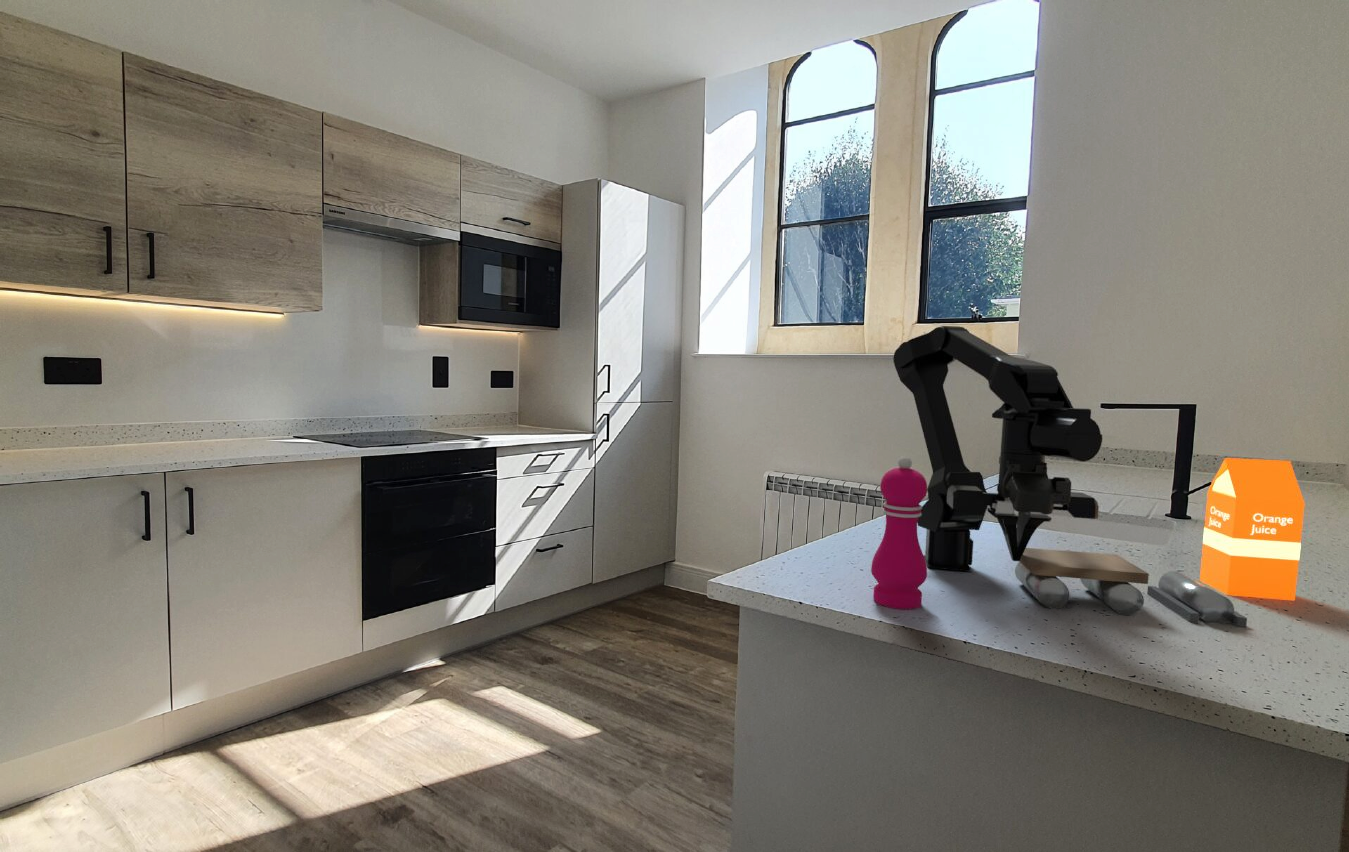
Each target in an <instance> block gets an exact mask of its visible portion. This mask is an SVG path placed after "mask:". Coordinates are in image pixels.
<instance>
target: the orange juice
mask: <svg viewBox="0 0 1349 852" xmlns="http://www.w3.org/2000/svg"><path fill="white" fill-rule="evenodd" d="M1206 498H1207V499H1206V505H1205V506H1206V508H1205V518H1204V519H1205V520H1204V526H1203V536H1202V537H1203V538H1202V550H1201V552H1202V553H1201V560H1200V561H1201V562H1200V563H1201V564H1200V574H1199V581H1200V582H1201V583H1203V584H1206V586H1207V585H1208V586H1210V587H1211V588H1213V589H1214V590H1217V591H1218V592H1220V593H1223V594H1224V595H1226V596H1232V597H1233V596H1234V597H1235V596H1236V597H1244V598H1245V597H1246V598H1259V599H1269V600H1284V601H1295V600H1296V593H1297V592H1296V591H1297V583H1298V582H1297V581H1298V573H1299V572H1298V571H1299V562H1300V560H1301V559H1300V558H1301V557H1300V556H1301V547H1302V543H1301V542H1302V533H1303V532H1302V531H1303V523H1304V514H1305V503H1306V501H1304V498H1303V495H1302V493H1301V489H1300V486H1299V484H1298V480H1297V477H1296V475H1295V472H1294V469H1293V465H1292V463H1291V460H1279V459H1278V460H1277V459H1276V460H1275V459H1273V460H1272V459H1255V458H1254V459H1253V458H1231V457H1227V458H1226V457H1225V458H1224V460H1223V462H1222V463H1221V465H1220V468H1219V469H1218V471H1217V473H1216V475H1215V477H1214V478H1213V480H1212V482H1211V484H1210V486H1209V488H1208V489H1207V495H1206Z"/></svg>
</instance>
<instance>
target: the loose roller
mask: <svg viewBox="0 0 1349 852" xmlns="http://www.w3.org/2000/svg"><path fill="white" fill-rule="evenodd" d="M1158 588H1159V589H1161V590H1162V591H1164V592H1165V593H1167V594H1169V595H1170V596H1172V597H1173V598H1175V599H1177V600H1178V601H1180V602H1181V603H1183V604H1185V605H1186V606H1188V607H1189V608H1191V609H1192V610H1194V611H1196V612H1197V613H1199V619H1201V620H1202V621H1204V622H1205V623H1207V624H1216V625H1225V624H1226V623H1228V622H1229V620H1230V619H1231V618H1232V617H1233V614H1234V611H1235V607H1234V604H1233V602H1232V601H1231V600H1230V598H1228V597H1226V596H1224V595H1223V594H1221V593H1219V592H1217V591H1215V589H1214V590H1213V589H1212V588H1210V587H1208V586H1207V585H1204V584H1202V582H1201V583H1200V582H1199V581H1196V580H1195V579H1194V578H1191V577H1189V576H1188V575H1186V574H1184V573H1182V572H1179V571H1174V570H1172V571H1167V572H1166V573H1163V575H1162V576H1161V577H1160V578H1159V580H1158Z"/></svg>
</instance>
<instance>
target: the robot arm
mask: <svg viewBox="0 0 1349 852" xmlns="http://www.w3.org/2000/svg"><path fill="white" fill-rule="evenodd" d="M892 358H893V364H894V368H895V371H896V373H897V376H898V378H899V381H900V382H901V383H902V384H903V385H904V386H905V387H906V388H907V389H908V390H909V391H910V393H912V395H913V398H914V402H915V406H916V407H915V408H916V410H917V414H918V418H919V421H920V425H921V429H922V435H923V437H924V438H923V439H924V442H925V444H926V445H925V447H926V450H927V453H928V458H929V461H930V464H931V469H932V474H931V477H930V480H929V484H927V497H928V499H927V501H926V502H925V503H924V504H923V505H921V506H922V509H921V513H922V515H921V516H920V517H918V522H917V527H921V528H923V529H925V530H926V536H925V550H924V551H925V552H924V553H925V554H923V556H924V558H925V562H926V566H927V568H930V569H938V570H939V569H940V570H950V571H951V570H952V571H965V572H971V570H972V568H971V566H972V565H973V556H974V555H973V553H974V540H973V539H972V538H971V531H973V530H975V531H980V530H981V526H982V523H983V521H984V518H985V514H986V512H988V513H989V514H990V515H991V516H992V517H994V518H996V519H997V521H998V523H999V526H1000V528H1001V531H1002V533H1003V535H1004V536H1003V537H1004V540H1005V543H1006V546H1007V549H1008V552H1009V555H1010V558H1011V559H1010V560H1012V561H1013V562H1019V561H1020V559H1021V557H1022V555H1023V553H1024V551H1025V548H1027V547H1028V544H1029V542H1030V540H1031V538H1032V536H1033V535H1034V533H1035V532H1036V530H1037V529H1038V528H1039V527H1040V526H1041V525H1042V524H1044V522H1047V523H1048V522H1049V523H1050V522H1051V521H1052V517H1051V516H1049V515H1051V514H1052V513H1053V511H1064V512H1065V511H1066V512H1067V513H1069V514H1070V515H1071V516H1072V517H1073V518H1075V519H1077V518H1078V519H1079V518H1080V519H1091V520H1092V519H1093V520H1097V519H1098V518H1099V509H1100V508H1099V507H1100V506H1099V503H1098V501H1097V500H1096V498H1095V497H1093V496H1092V495H1091V496H1090V495H1089V494H1087V493H1084V492H1075V491H1072V481H1071V479H1070V478H1069V477H1062V476H1054V477H1052V478H1049V475H1048V466H1047V465H1048V463H1047V462H1046V457H1050V458H1055V459H1061V460H1069V461H1074V462H1075V461H1076V462H1081V463H1082V462H1083V463H1084V462H1088V461H1091V460H1092V459H1094V458H1095V457H1096V456H1097V454H1098V453H1099V451H1100V449H1101V448H1102V443H1103V434H1102V433H1101V429H1100V426H1099V425H1098V423H1097V422H1096V421H1095V420H1094V419H1092V418H1091V417H1092V410H1091V408H1080V407H1079V408H1075V407H1074V406H1073V404H1072V402H1071V401H1070V398H1069V397H1068V395H1067V393H1066V391H1065V389H1064V388H1063V385H1062V384H1061V382H1060V380H1059V378H1058V376H1059V373H1058V371H1057V369H1055V368H1054V367H1053V366H1051V365H1048V364H1045V363H1042V362H1039V361H1035V360H1030V359H1025V358H1020V357H1016V356H1012V355H1011V354H1008V353H1007V352H1005V351H1003V350H1001V349H999V348H998V347H996V346H994V345H992V344H990V342H987V341H985V340H983V339H982V338H981V337H978V336H977V335H974V334H973V333H971V332H970V331H969V330H968V329H967V328H965V327H964V326H960V325H959V326H957V325H940V326H937V327H935V328H934V329H932V330H931V331H929V332H927V333H925V334H921V335H918V336H916V337H913V338H911V339H908V341H904V342H902V343H901V344H900V345H898V348H896V350H895V351H894V353H893V357H892ZM955 361H958V362H959V363H961V364H963V365H964V366H966V367H967V368H969V369H971V370H972V371H973V372H975V373H976V374H978V375H980V376H981V377H983V379H985V380H986V381H988V388H989V390H990V391H991V392H992V393H993V395H995V396H996V397H997V398H998V399H999V400H1000V401H1001V402H1002V405H1001V406H1000V407H999V408H997V409H996V410H995V411H994V412H992V414H991V417H992V418H993V419H999V420H1001V419H1002V424H1001V426H1002V427H1001V439H1000V441H1001V442H1000V456H999V457H998V465H999V468H998V469H999V471H998V483H997V487H996V491H997V492H988V491H987V490H986V487H985V483H984V477H983V475H982V473H981V472H980V471H970V469H968V467H967V466H966V465H965V461H964V457H963V455H962V452H961V446H960V443H959V439H958V437H957V431H956V429H955V426H954V421H953V418H952V414H951V410H950V407H949V404H948V400H947V397H946V392H945V389H944V386H945V385H944V384H945V381H946V380H947V377H948V373H949V365H951V364H952V363H954V362H955ZM988 506H989V507H988ZM1015 512H1018V513H1017V514H1016V513H1015Z"/></svg>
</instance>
